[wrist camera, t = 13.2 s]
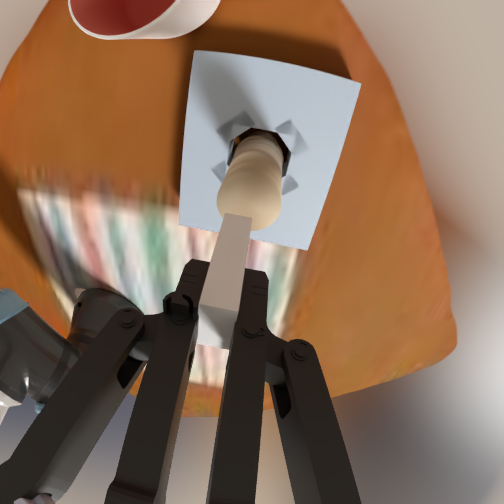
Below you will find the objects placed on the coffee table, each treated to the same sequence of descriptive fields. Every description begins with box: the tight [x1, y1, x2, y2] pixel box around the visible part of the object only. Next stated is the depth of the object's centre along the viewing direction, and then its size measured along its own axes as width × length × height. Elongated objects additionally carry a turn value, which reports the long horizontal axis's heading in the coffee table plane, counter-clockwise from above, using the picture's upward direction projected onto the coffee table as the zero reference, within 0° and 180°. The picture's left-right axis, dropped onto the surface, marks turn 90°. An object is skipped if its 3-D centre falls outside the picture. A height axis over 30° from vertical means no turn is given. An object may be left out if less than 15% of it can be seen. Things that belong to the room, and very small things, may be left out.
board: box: [179, 50, 361, 250], centre depth 27 cm, size 14×18×4 cm
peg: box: [216, 131, 283, 231], centre depth 24 cm, size 4×4×12 cm
